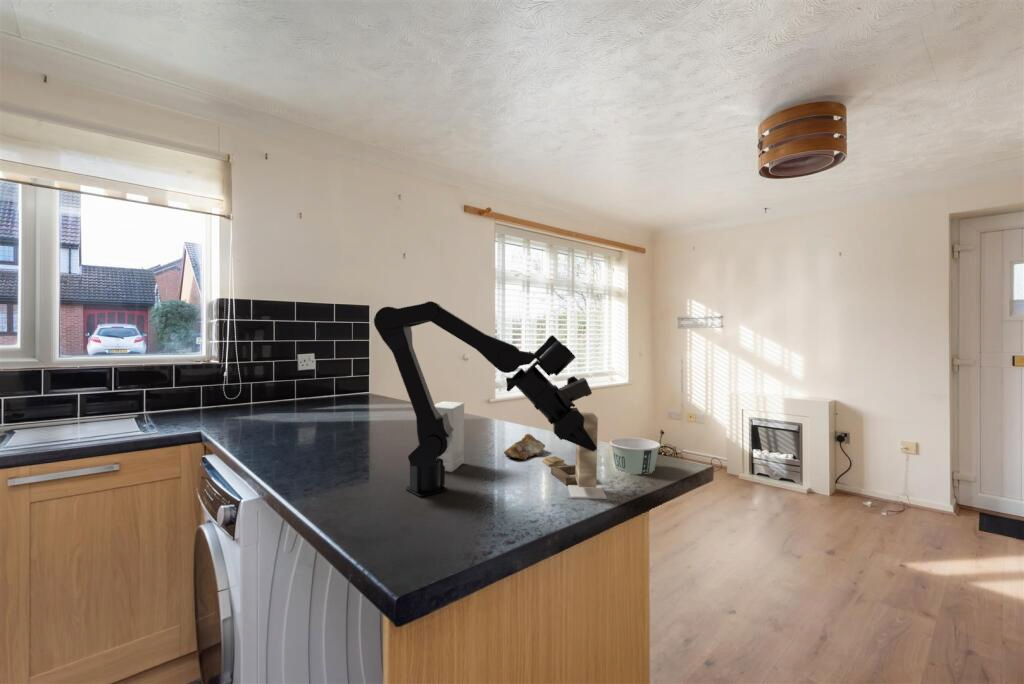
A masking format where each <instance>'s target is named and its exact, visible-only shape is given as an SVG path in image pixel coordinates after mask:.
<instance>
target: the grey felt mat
mask: <svg viewBox="0 0 1024 684" xmlns="http://www.w3.org/2000/svg"><path fill="white" fill-rule="evenodd" d="M567 490H568V492H569V495H570V499H581V500H583V499H584V500H585V499H586V500H587V499H588V500H590V499H591V500H592V499H593V500H607V495H606V493H605V491H604V490H603V488H602V486H601V485H596V488H595V487H579V486H578V484H576V485H567Z"/></svg>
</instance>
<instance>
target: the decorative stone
mask: <svg viewBox="0 0 1024 684" xmlns="http://www.w3.org/2000/svg"><path fill="white" fill-rule="evenodd" d="M545 448H546V444H544V443H543V442H541V440H538V439H537V438H536V437H535V436H533V435H532V434H530V433H526V434H525V435H524V437H522V439H521V440H519V441H517V442H515V443H514V444H512V445H511V446H510V447H509V448H507V449H506V450H504V451H503V454H504V455H506V456H508V457H510V458H514V459H517V458H518V459H517V460H522V461H523V460H525V461H526V459H527V458H530V457H533V456H538V455H540V454H542V452H543V451H544V450H545Z"/></svg>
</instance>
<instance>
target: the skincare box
mask: <svg viewBox="0 0 1024 684" xmlns="http://www.w3.org/2000/svg"><path fill="white" fill-rule="evenodd" d="M434 406H435V408H436V409H437V411H438V412H439V413H440V415H441V416H442V415H444V414H445V413H447V414H448V418H449V423H450V425H451V427H452V428H453V429H454V430H453V432H452V441H451V443H450V445H449V447H448V448H447V450H446V451H445V452H444V453H443V454H442V455H441V456H440V457H439V458H440V459H443V465H444V466H445V472H446V471H447V473H452V472H454V471H455V470H457V469H458V468H459V467H460V466H462V465H463V464H464V444H465V443H464V441H465V440H464V439H465V402H463V401H460V402H459V401H440V402H438V403H434Z"/></svg>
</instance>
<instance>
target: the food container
mask: <svg viewBox="0 0 1024 684" xmlns="http://www.w3.org/2000/svg"><path fill="white" fill-rule="evenodd" d="M609 444H610V445H611V450H612V456H613V461H614V462H613V463H614V467H615V468H616V469H617V470H618V471H617V470H616V471H617V472H619V471H621V473H622V472H625V473H624V474H626V473H631V474H630V475H633V474H644V473H649V472H652V471H654V472H655V469H656V464H657V458H658V453H659V449H660V448H661V446H662V445H661V443H659V442H658V441H655V440H652V439H648V438H639V437H618V438H613V439H611V440H610V441H609Z"/></svg>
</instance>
